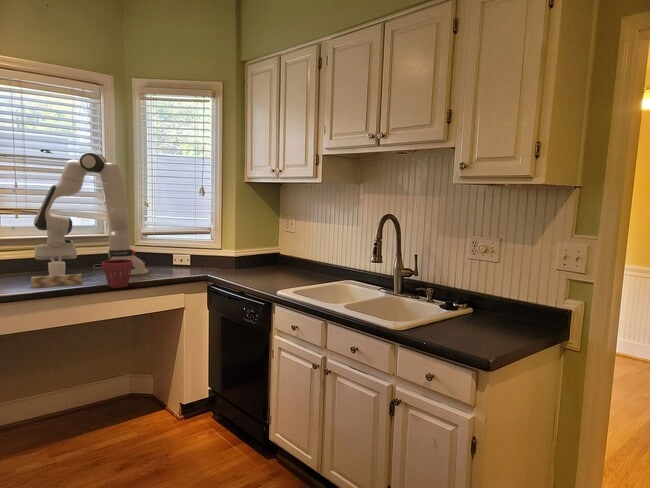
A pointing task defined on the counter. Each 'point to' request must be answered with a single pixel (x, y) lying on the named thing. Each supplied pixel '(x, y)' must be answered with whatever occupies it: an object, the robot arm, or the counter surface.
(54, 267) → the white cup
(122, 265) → the plant pot
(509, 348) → the counter surface
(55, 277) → the end stop
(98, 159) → the robot arm
